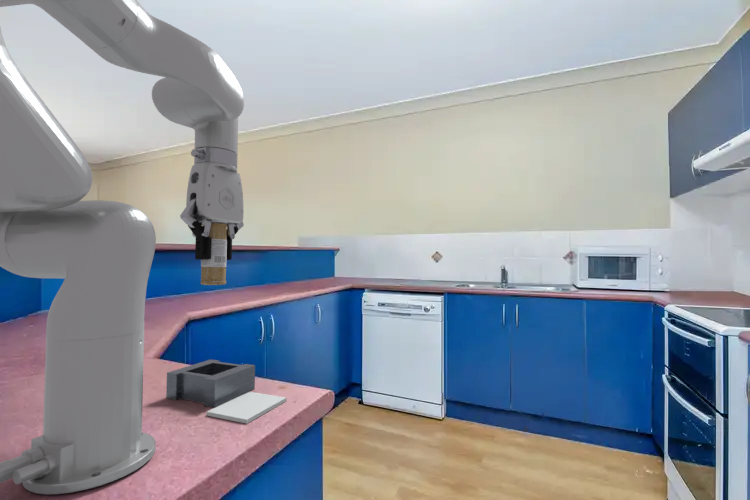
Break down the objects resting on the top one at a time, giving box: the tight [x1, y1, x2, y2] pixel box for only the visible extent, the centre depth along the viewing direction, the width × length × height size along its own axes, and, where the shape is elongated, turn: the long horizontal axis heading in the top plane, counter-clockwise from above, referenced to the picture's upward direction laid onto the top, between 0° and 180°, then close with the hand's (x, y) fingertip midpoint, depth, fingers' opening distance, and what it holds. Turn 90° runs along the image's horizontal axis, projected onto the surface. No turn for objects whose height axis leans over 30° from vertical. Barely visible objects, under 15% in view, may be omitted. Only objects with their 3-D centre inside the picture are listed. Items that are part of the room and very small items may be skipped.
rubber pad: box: [206, 391, 287, 424], centre depth 62 cm, size 10×8×1 cm
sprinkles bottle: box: [200, 217, 228, 286], centre depth 70 cm, size 5×5×14 cm
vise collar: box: [166, 358, 256, 408], centre depth 69 cm, size 10×11×4 cm
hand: (213, 258), depth 70 cm, fingers closed on sprinkles bottle, 4 cm apart
